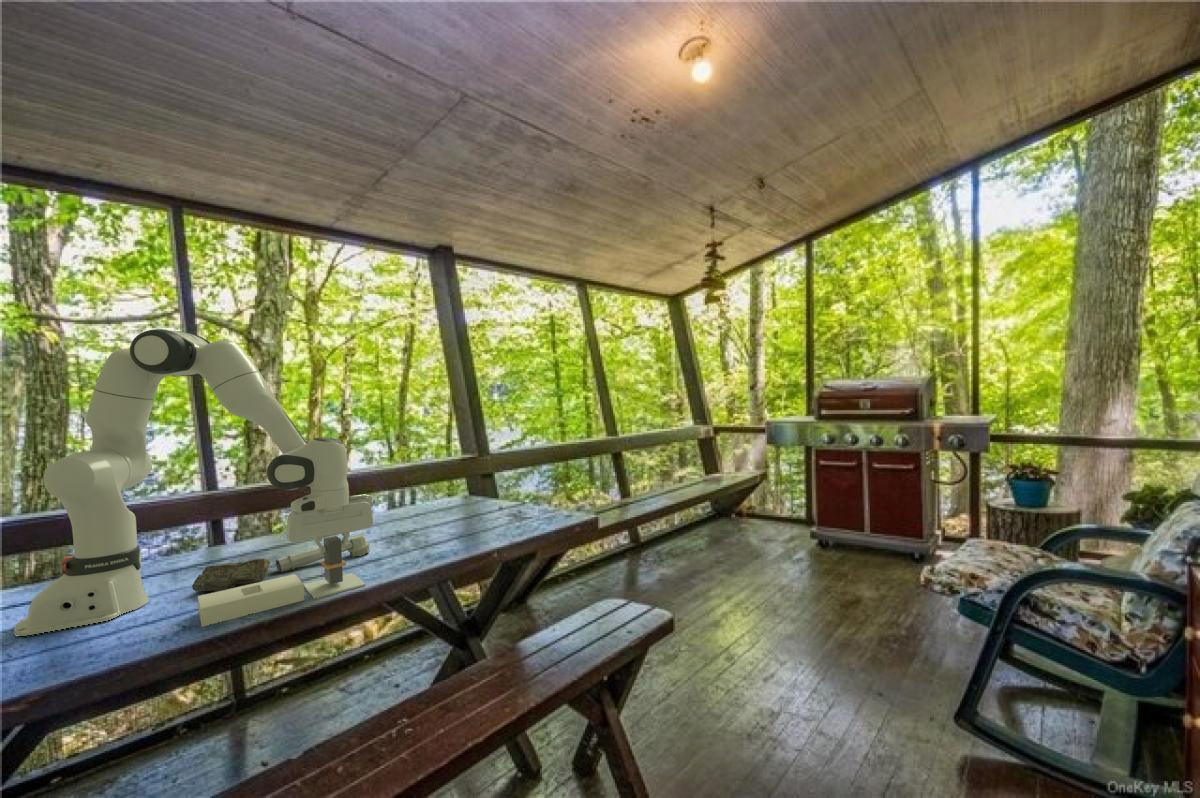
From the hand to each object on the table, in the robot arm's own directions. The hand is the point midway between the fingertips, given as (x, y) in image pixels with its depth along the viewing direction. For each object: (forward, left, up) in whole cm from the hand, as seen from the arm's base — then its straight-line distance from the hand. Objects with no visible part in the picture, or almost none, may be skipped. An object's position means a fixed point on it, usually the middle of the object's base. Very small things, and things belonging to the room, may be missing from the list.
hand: (332, 551), depth 136 cm
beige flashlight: (+4, +24, -10) cm, 26 cm away
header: (-18, 0, -9) cm, 20 cm away
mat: (0, 0, -9) cm, 9 cm away
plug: (0, 0, -8) cm, 8 cm away
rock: (-20, +21, -10) cm, 31 cm away
